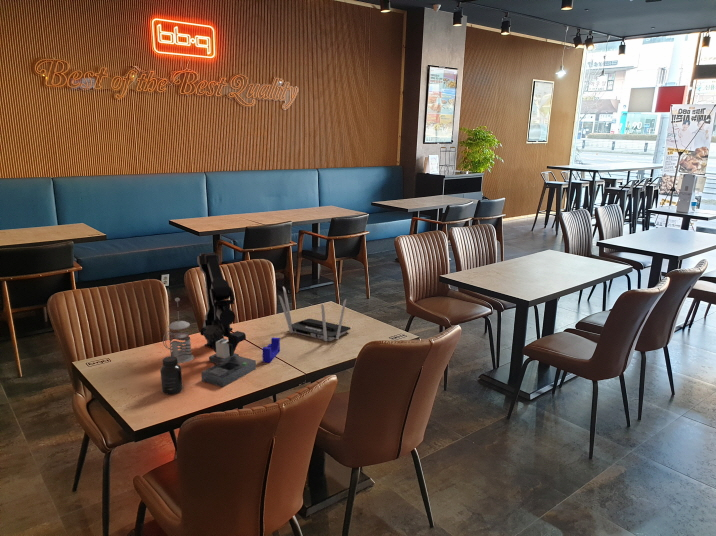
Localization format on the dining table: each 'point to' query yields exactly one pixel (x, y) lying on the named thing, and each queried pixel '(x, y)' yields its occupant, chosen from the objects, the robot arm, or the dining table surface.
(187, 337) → the french press
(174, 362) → the supplement bottle
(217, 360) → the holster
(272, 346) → the cable clip
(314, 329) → the wireless router
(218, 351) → the plug
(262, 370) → the dining table surface
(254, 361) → the port panel
